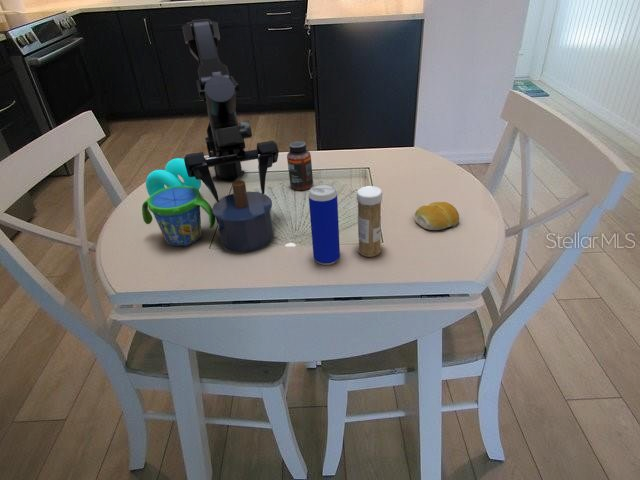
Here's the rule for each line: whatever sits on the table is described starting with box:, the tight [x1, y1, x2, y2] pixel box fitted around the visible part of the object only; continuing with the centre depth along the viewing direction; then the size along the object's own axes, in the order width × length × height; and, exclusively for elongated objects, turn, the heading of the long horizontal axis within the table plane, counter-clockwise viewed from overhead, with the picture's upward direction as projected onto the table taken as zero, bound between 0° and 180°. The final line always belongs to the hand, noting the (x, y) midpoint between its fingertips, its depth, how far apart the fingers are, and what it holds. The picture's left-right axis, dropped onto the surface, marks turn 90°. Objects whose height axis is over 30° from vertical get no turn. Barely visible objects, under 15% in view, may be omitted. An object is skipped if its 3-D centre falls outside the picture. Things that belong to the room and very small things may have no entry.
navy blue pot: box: [215, 208, 275, 254], centre depth 96 cm, size 11×11×7 cm
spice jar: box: [356, 185, 383, 258], centre depth 87 cm, size 5×5×14 cm
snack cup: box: [141, 186, 216, 247], centre depth 97 cm, size 16×10×10 cm
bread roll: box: [414, 201, 460, 231], centre depth 98 cm, size 8×9×4 cm
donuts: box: [145, 157, 202, 197], centre depth 112 cm, size 10×10×10 cm
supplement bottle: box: [286, 140, 314, 191], centre depth 114 cm, size 6×6×11 cm
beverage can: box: [308, 183, 341, 266], centre depth 86 cm, size 5×5×15 cm
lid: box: [211, 180, 273, 223], centre depth 93 cm, size 12×12×6 cm
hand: (241, 197), depth 92 cm, fingers open, 9 cm apart
